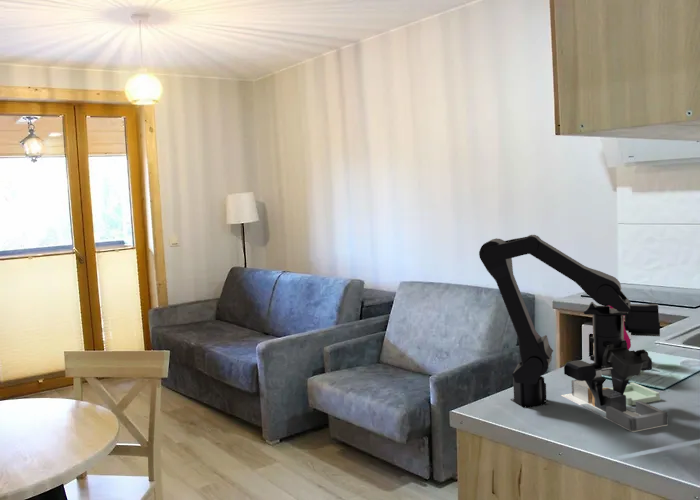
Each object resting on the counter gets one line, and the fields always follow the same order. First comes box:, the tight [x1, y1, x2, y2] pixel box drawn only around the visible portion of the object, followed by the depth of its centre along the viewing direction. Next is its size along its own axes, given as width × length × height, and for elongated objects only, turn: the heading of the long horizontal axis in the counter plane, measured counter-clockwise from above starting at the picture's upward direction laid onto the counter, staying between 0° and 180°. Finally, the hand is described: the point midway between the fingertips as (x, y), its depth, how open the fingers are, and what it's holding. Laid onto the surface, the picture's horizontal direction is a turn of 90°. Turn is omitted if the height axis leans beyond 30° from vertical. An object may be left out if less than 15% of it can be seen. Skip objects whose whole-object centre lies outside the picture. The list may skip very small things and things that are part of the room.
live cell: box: [592, 387, 626, 412], centre depth 138 cm, size 4×6×4 cm, turn 16°
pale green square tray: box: [603, 382, 662, 407], centre depth 145 cm, size 9×9×2 cm
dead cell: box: [571, 379, 592, 403], centre depth 145 cm, size 4×6×4 cm, turn 16°
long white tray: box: [560, 392, 668, 433], centre depth 138 cm, size 9×24×3 cm, turn 16°
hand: (608, 403), depth 138 cm, fingers open, 4 cm apart
